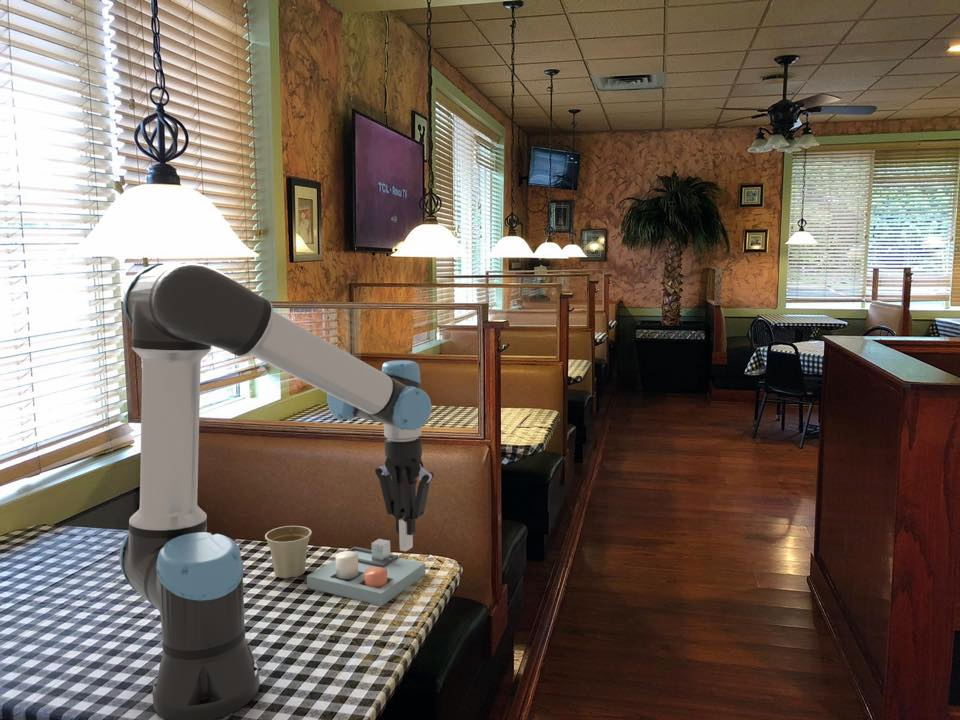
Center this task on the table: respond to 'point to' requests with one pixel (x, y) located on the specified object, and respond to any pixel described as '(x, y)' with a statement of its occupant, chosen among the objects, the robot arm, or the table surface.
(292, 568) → the flower pot
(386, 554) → the grey stone cube
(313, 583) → the panel
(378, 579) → the salmon orange egg
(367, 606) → the table surface
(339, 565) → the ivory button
